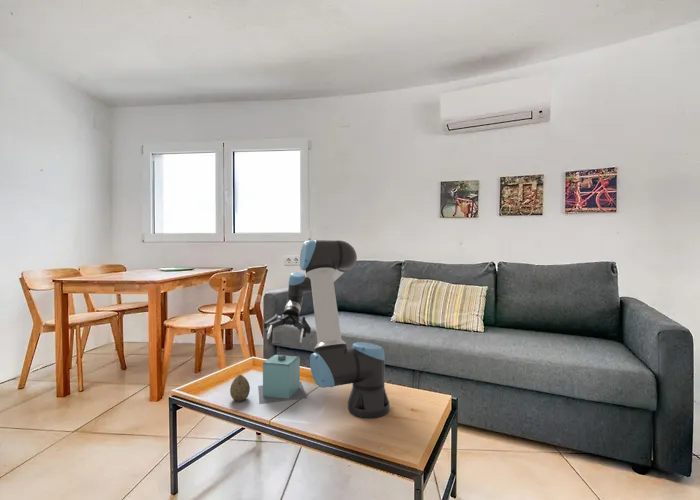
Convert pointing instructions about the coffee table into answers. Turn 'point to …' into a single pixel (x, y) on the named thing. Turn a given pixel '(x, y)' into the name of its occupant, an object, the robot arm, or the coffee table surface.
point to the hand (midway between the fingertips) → (284, 338)
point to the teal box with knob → (281, 376)
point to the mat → (265, 399)
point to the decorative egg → (239, 388)
